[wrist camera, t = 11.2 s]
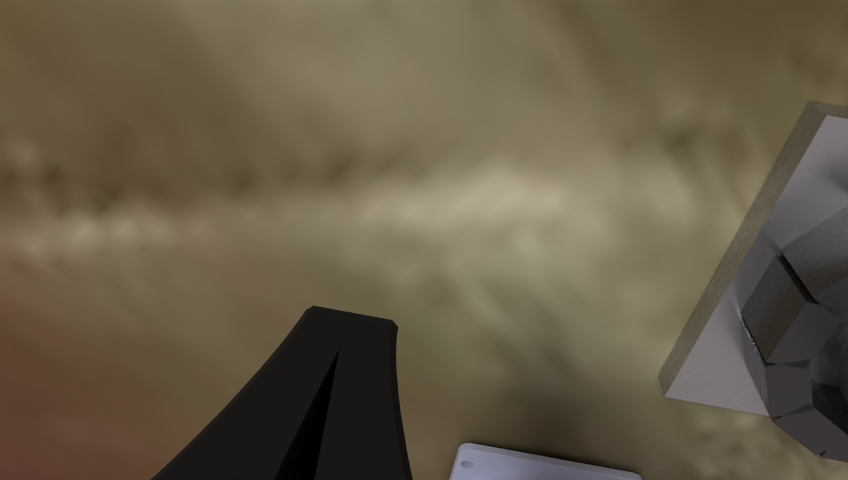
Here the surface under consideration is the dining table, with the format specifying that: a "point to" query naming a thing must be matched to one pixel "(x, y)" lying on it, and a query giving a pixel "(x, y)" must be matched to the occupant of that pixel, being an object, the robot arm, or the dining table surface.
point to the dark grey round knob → (837, 356)
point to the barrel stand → (779, 297)
